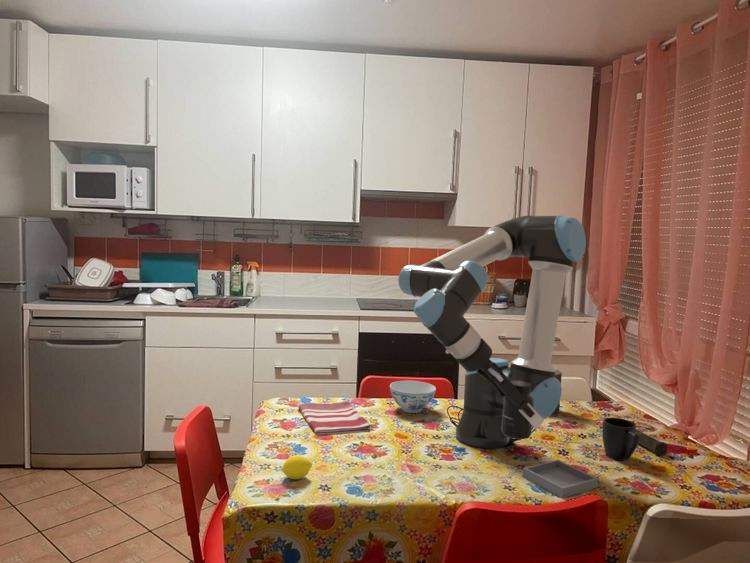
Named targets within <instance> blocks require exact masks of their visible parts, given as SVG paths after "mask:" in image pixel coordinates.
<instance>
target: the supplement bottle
mask: <svg viewBox="0 0 750 563" xmlns="http://www.w3.org/2000/svg"><path fill="white" fill-rule="evenodd" d="M511 383H512V384H513V385H514V386H515V387H516V388H517V389H518V391H519V392H520V393H521V394H522V395H523V396H524V397H525V398H526V399H527V400H528V401H529V404H530V405H531V406H532V407H533V408H534V399H533V397H532V396H531V395H529V394H530V393H531V384H530V383H527V382H524V381H511ZM515 409H516V406H515V405H514V404H513V403H512V402H511V400H510V399H509V398H508V397H507V396H506V395H505V396H504V399H503V411H502V423H501V432H502V433H503V434H504V435H505V436H507V437H509V439H516V440H526V439H529V438H530V437H531V436H532V430H533V426H532V425H531V424H530V423H529V421H528V420H527V419H526V418H525V417H524V416H523V415H522V414H521V413H520V412H519V410H518V411H515Z"/></svg>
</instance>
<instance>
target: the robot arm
mask: <svg viewBox="0 0 750 563" xmlns="http://www.w3.org/2000/svg"><path fill="white" fill-rule="evenodd" d="M586 238H587V237H586V232H585V230H584V227H583V224H582V223H581V222H580V221H579V220H578V218H576V217H572V216H565V215H564V216H563V215H522V216H517V217H514V218H511V219H508V220H505V221H503V222H499V224H496V225H494V226H492V227H489V228H488V229H487V230H485V232H484V234H483V235H482V236H479V237H477V238H476V239H473V240H471V241H468V242H467V243H465V244H462V245H460V246H458V247H456V248H454V249H451V250H450V251H448V252H447V253H444V254H442V255H440V256H438V257H435V258H433V259H432V260H429V261H428V262H425V263H423V264H420V265H419V264H408V265H405V266H404V267H402V268H401V270H400V272H399V273H398V274H399V275H398V285H399V288H400V291H401V292H402V293H404V294H406V295H409V296H412V297H419V298H418V300H417V301H416V302H415V304H414V306H413V313H414V314H415V316H416V317H417V318H418V320H420V322H421V323H422V325H423V327H425V328H426V329H428V331H430V333H431V335H433V336H434V338H436V339H437V341H438V342H440V344H442V345H443V347H444V348H445V349H446V350H445V353H446V354H447V355H449V354H451V356H453V357H454V358H455V359H456V361H457V362H458V364H460V366H461V367H462V368H463V369H464V370H465V374H464V376H465V377H464V396H463V408H462V409H463V410H462V412H461V415H460V419H459V420H458V421H459V422H458V424H457V425H456V428H455V438H456V439H457V440H458V441H459V442H461V443H463V444H466V445H469V446H472V447H476V448H482V449H497V448H503V447H505V446H508V444H509V443H510V437H507V436H505V435H504V434H503V433H502V432H501V423H502V411H503V399H504V396H505V395H506V396H507V397H508V398H509V399H510V400H511V402H512V403H513V404H514V405H515V406H516V409H515V411H518V410H519V412H520V413H521V414H522V415H523V416H524V417H525V418H526V419H527V420H528V421H529V423H530V424H531V425H532V428H534V429H535V430H536V429H538V428H539V427H540V425H542V423H544V422H545V420H546V419H548V418H549V417H550V416H552V415H551V414H552V413H553V412H554V410H555V409H556V407H557V405H558V403H559V400H560V401H561V397H562V390H563V389H562V382H561V383H560V381H559V380H558V379H556V378H554V377H555V371H556V370H557V369H555V368H554V366H553V365H552V358H553V353H554V347H555V345H554V344H555V340H556V334H557V330H558V329H557V328H558V323H559V317H560V311H561V305H562V300H563V298H562V297H563V293H564V288H565V286H564V285H565V280H566V275H568V273H570V272H571V271H572V270H573V269H574V263H577V262H579V261H581V260H582V259H583V256H584V255H585V253H586V248H587V247H586V246H587V239H586ZM511 257H512V258H515V257H516V258H517V257H518V258H528V265H529V266H530V268H531V269H532V271H531V278H530V285H529V289H528V290H529V291H528V297H527V302H526V307H525V313H524V320H523V326H522V330H521V337H520V342H519V347H518V348H519V349H518V355H517V357H515V359H513V360H512V361H510V363H509V360H507V359H504V358H498V357H497V358H496V357H492V355H493V349H492V347H491V346H490V345H489V344H488V343H487V342H486V340H485V339H483V338H481V335H480V333H479V332H477V330H476V329H475V328H474V327H473V326H472V324H471V323H470V322H468V320H467V319H466V318H465V317H464V316H465V314H466V312H467V311H468V310H469V309H470V308H471V306H473V304H474V302H475V301H476V300H477V299H478V297H480V295H481V294H482V293H483V290H484V289H485V287H486V286H487V284H488V281H489V275H488V273H487V270H486V269H485V268H484V267H485V266H487V265H489V264H491V263H494V262H495V261H503V260H506V259H508V258H511ZM511 381H524V382H527V383H530V384H531V393H530V394H529V395H531V396H532V397H533V399H534V408H533V407H532V406H531V405H530V404H529V401H528V400H527V399H526V398H525V397H524V396H523V395H522V394H521V393H520V392H519V391H518V389H517V388H516V387H515V386H514V385H513V384H512V383H511Z"/></svg>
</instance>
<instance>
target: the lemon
mask: <svg viewBox="0 0 750 563" xmlns="http://www.w3.org/2000/svg"><path fill="white" fill-rule="evenodd" d="M312 465H313V463H312V462H311V461H310V460H309V459H308V458H307V457H305V456H304V455H302V454H301V455H299V454H296V455H294V454H293V455H291V456H290V457H288V458H287V459H286V460H285V461H284V463H283V465H282V468H281V471H282V472H283V474H284V475H285V476H286V477H287V478H288V479H291V480H300V479H303V478H305V477H306V476H307V475H308V474H309V472H310V470H311V468H312Z"/></svg>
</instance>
